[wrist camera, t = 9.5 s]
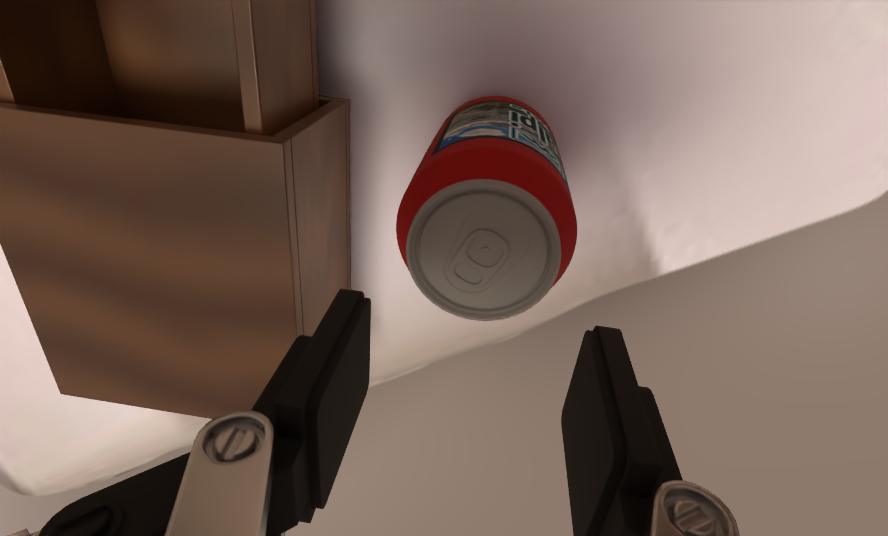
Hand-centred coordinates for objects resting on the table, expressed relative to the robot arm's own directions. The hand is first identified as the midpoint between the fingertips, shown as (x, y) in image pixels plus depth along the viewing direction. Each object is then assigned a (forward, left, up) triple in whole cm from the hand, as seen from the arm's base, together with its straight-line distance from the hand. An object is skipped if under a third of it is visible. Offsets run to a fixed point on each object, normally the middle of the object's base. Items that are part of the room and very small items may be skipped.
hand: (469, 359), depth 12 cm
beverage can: (0, 0, -18) cm, 18 cm away
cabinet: (+8, -14, -17) cm, 24 cm away
